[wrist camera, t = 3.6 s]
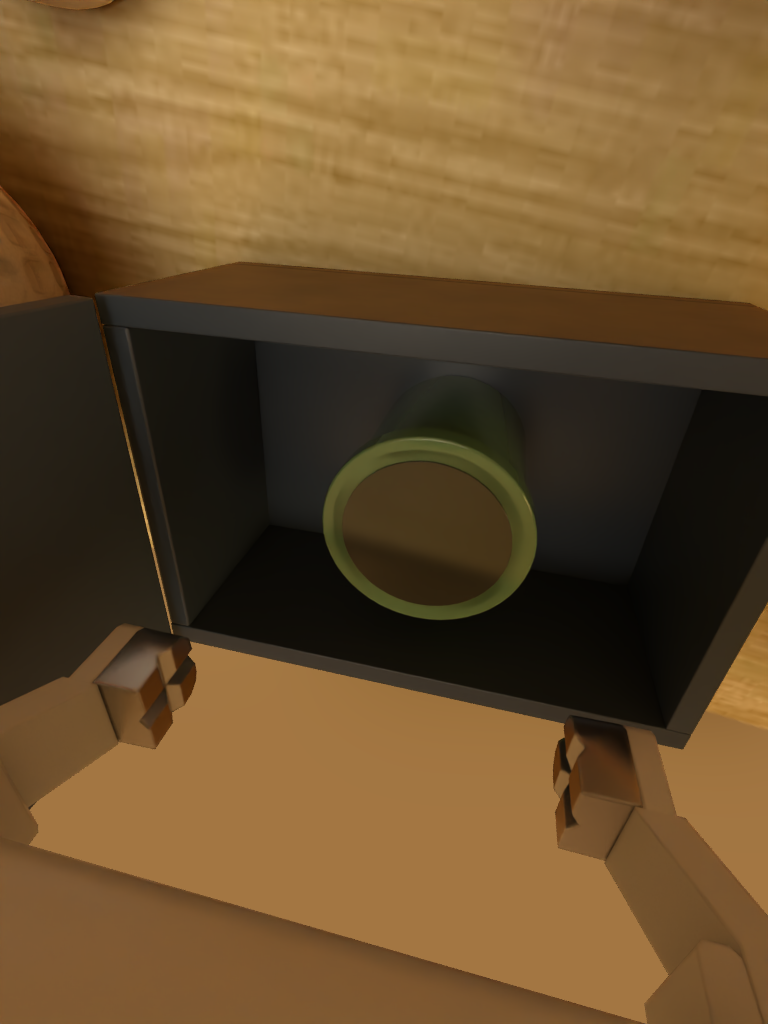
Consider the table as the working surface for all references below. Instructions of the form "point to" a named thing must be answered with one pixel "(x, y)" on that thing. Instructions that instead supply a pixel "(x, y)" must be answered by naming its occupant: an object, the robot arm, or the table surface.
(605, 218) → the table surface
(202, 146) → the table surface
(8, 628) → the lid
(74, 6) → the ramekin
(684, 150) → the table surface
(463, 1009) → the robot arm
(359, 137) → the table surface
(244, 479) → the open dark gray box
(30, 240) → the vase
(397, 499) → the green pot
